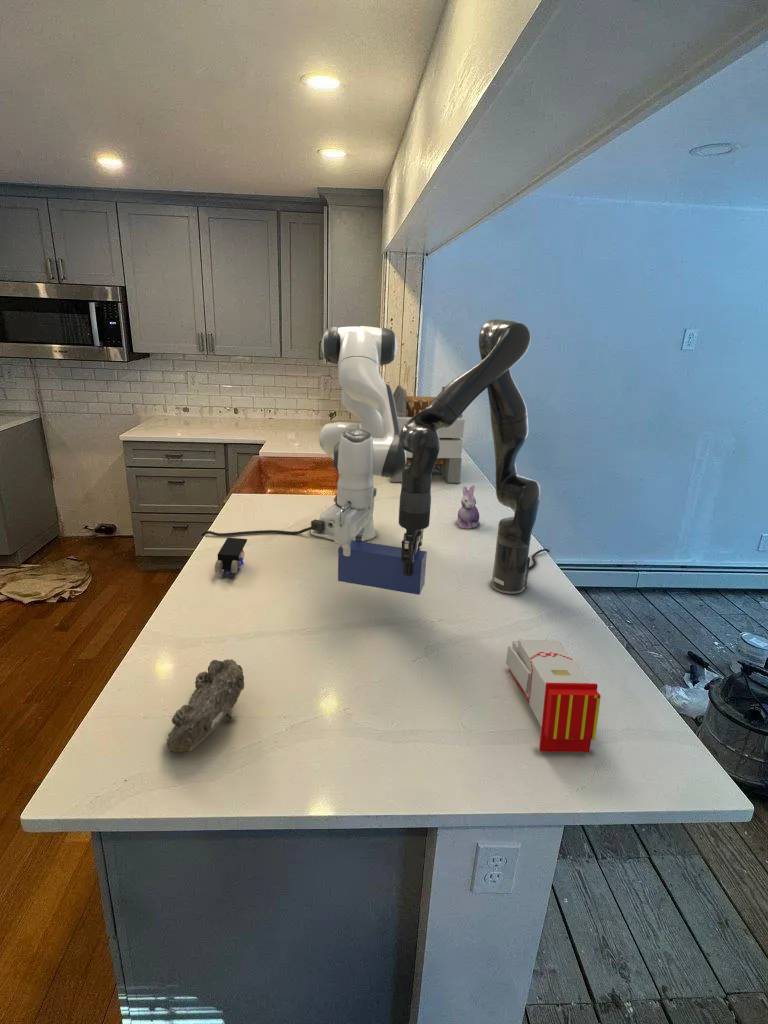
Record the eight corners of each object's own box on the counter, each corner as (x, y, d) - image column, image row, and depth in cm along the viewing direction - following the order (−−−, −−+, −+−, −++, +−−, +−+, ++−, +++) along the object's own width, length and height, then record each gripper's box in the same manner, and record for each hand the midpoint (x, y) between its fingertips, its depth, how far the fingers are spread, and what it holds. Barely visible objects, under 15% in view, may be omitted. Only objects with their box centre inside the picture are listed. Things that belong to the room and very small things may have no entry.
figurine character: (238, 584, 162) (249, 557, 175) (236, 562, 158) (247, 536, 172) (215, 584, 161) (227, 556, 175) (212, 561, 158) (225, 535, 171)
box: (337, 581, 146) (338, 547, 143) (345, 571, 151) (346, 539, 148) (419, 595, 140) (421, 560, 137) (424, 584, 146) (426, 551, 143)
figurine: (465, 531, 205) (469, 491, 200) (449, 521, 213) (452, 483, 208) (486, 527, 209) (490, 488, 204) (470, 518, 217) (473, 481, 212)
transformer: (382, 463, 289) (386, 382, 275) (445, 464, 293) (451, 384, 279) (390, 482, 257) (394, 392, 243) (460, 483, 261) (468, 394, 247)
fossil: (192, 660, 117) (244, 628, 112) (224, 691, 120) (276, 661, 115) (142, 746, 98) (202, 712, 93) (182, 779, 101) (242, 748, 96)
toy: (554, 622, 128) (610, 691, 98) (548, 677, 130) (601, 759, 101) (501, 621, 127) (541, 690, 98) (496, 676, 130) (534, 758, 101)
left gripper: (353, 510, 130) (351, 566, 134) (378, 487, 148) (376, 536, 153) (327, 507, 131) (327, 562, 136) (355, 484, 150) (354, 533, 154)
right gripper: (423, 518, 129) (419, 584, 135) (435, 499, 142) (431, 560, 148) (392, 514, 131) (388, 579, 137) (406, 496, 144) (403, 556, 150)
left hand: (353, 548), depth 145 cm, fingers open, 8 cm apart
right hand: (411, 569), depth 142 cm, fingers closed on box, 6 cm apart
